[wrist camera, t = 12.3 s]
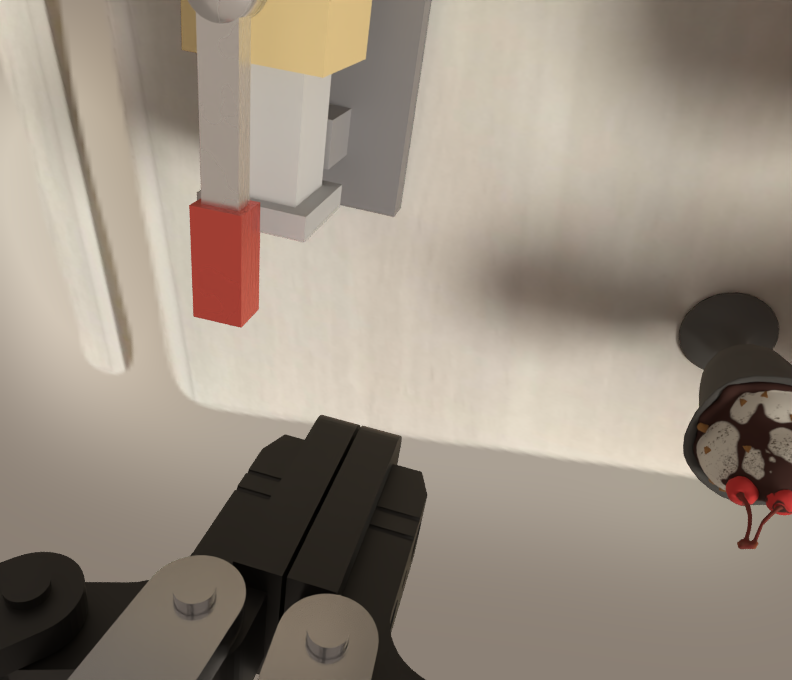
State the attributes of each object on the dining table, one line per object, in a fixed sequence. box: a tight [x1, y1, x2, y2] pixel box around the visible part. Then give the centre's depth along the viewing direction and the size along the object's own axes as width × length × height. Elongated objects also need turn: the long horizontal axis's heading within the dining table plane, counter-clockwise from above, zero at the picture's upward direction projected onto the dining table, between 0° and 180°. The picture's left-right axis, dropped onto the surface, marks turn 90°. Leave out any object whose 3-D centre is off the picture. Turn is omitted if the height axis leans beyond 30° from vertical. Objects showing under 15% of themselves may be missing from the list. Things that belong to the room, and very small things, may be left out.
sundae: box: [679, 293, 792, 549], centre depth 31 cm, size 7×7×15 cm
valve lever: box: [188, 0, 267, 327], centre depth 27 cm, size 14×3×2 cm, turn 173°
